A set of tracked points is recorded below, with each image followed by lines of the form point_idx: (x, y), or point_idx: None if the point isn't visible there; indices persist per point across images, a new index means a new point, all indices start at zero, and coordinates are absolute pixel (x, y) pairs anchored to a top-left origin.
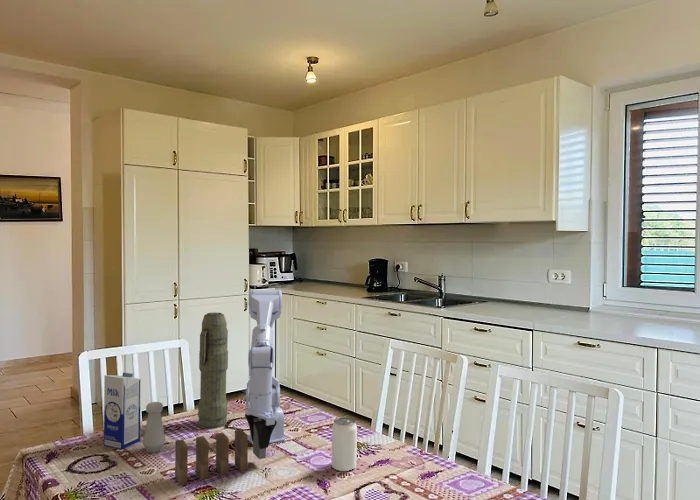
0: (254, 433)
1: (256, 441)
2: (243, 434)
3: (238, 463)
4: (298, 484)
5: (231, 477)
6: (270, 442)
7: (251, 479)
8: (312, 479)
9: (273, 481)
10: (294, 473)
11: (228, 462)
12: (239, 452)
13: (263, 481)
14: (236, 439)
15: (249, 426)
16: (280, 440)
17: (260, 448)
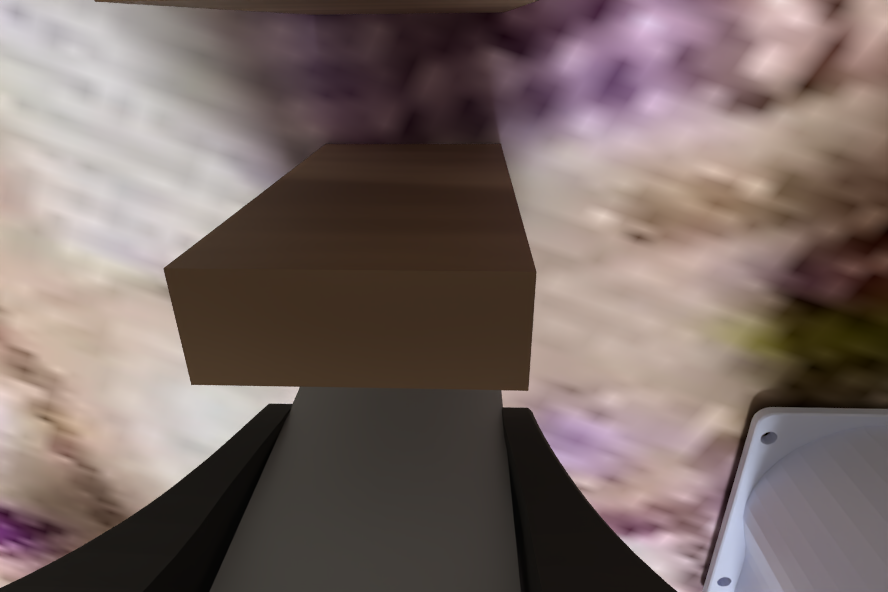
0: (464, 487)
1: (388, 431)
2: (256, 340)
3: (380, 154)
4: (5, 424)
5: (247, 27)
6: (725, 518)
7: (155, 180)
8: (60, 507)
9: (81, 312)
10: (171, 461)
11: (275, 12)
12: (321, 185)
13: (97, 251)
14: (433, 224)
15: (580, 520)
16: (709, 576)
17: (266, 406)
